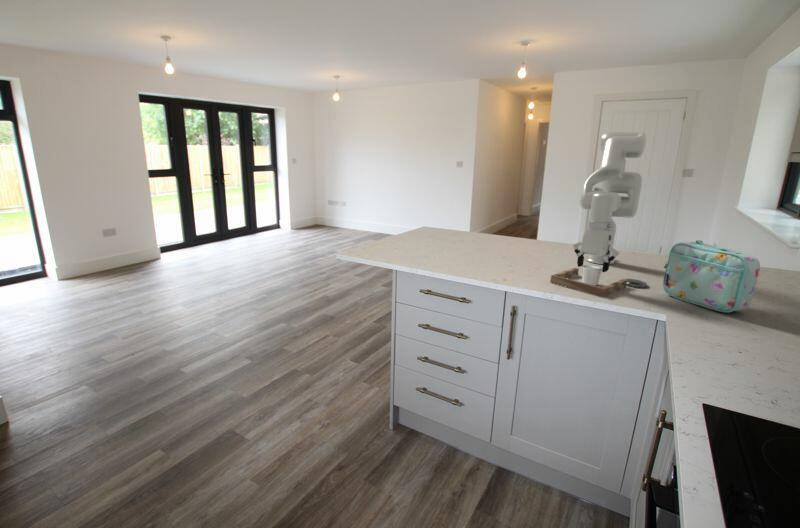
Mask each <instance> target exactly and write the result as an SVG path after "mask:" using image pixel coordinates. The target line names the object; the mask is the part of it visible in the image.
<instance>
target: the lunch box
mask: <svg viewBox="0 0 800 528" xmlns="http://www.w3.org/2000/svg"><path fill="white" fill-rule="evenodd" d="M668 255H669V256H668V260H667V262H666V263H665V265H664V267H663V268H664V269H665V270H664V274H663V275H664V276H663V281H662V283H663V285H662V286H663V289H664V292H665V293H666V294H667V295H669V296H671V297H672V298H675V299H678V300H680V301H684V302H686V303H689V304H693V305H695V306H699V307H702V308H706V309H708V310H712V311H716V312H721V313H732V312H744V311H747V310H748V309H749V308H750V306H751V303H752V301H753V298H754V293H755V289H756V286H757V281H758V279H759V274H760V270H761V264H760V261H759V258H757V257H756V256H754V255H751V254H748V253H746V252H742V251H738V250H735V249H734V250H733V249H729V248H726V247H721V246H716V245H713V244H707V243H704V242H703V240H700V239H699V240H695V241H694V242H693V241H690V242H683V241H682V242H678V243H676V244H674V245H673V246H672V247H671V249H670V252H669V254H668Z"/></svg>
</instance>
